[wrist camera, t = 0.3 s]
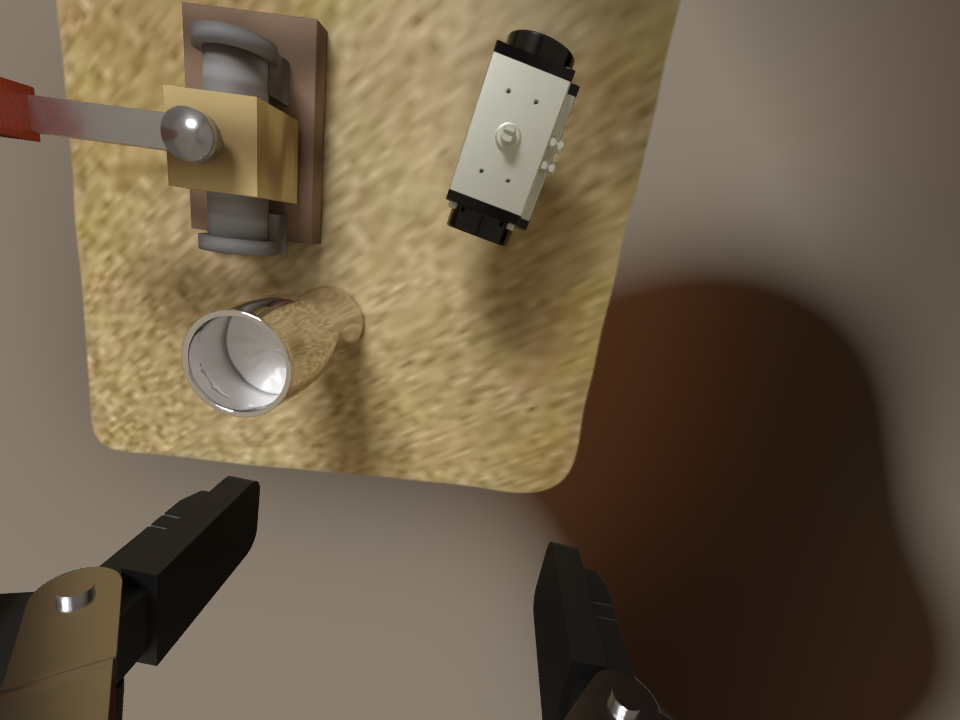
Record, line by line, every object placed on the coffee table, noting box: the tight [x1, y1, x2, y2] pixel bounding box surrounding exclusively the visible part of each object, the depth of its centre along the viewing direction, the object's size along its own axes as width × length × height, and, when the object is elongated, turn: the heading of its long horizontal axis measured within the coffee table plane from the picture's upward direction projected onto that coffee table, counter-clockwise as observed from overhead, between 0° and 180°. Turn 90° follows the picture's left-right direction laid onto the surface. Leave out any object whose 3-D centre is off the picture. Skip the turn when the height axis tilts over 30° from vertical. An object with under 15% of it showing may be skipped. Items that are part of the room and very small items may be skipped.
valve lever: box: [0, 77, 222, 164], centre depth 26 cm, size 14×3×5 cm, turn 83°
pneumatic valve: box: [446, 30, 580, 247], centre depth 31 cm, size 6×12×12 cm, turn 160°
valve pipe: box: [163, 2, 327, 256], centre depth 32 cm, size 17×10×10 cm, turn 173°
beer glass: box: [182, 287, 363, 417], centre depth 33 cm, size 7×7×15 cm
